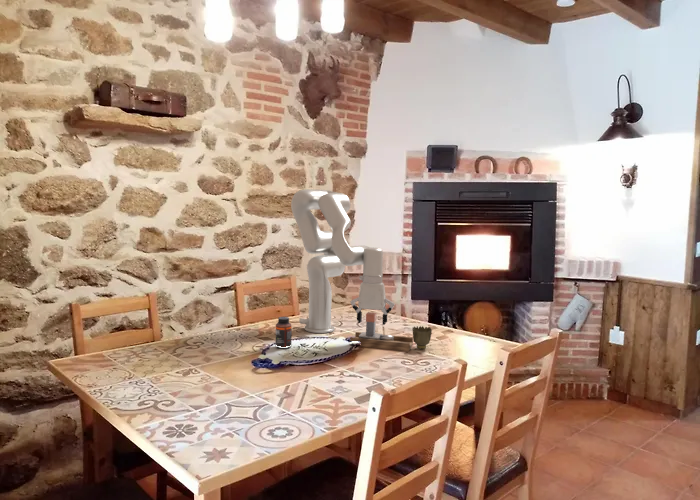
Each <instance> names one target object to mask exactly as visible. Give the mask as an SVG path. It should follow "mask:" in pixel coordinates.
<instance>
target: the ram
mask: <svg viewBox="0 0 700 500" xmlns="http://www.w3.org/2000/svg"><path fill="white" fill-rule="evenodd" d="M365 322H366V324H365V325H366V326H365V329H366V330H365V331H362V333H361V334H360V335H359V338H364V339H374V340H385V341H394V336H395V335H393V336H390V335H391V334H383V333H377V332H376V322H377V312H370V311H368V312H367V313H366V314H365ZM382 334H383V335H382Z"/></svg>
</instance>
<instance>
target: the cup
mask: <svg viewBox="0 0 700 500" xmlns="http://www.w3.org/2000/svg"><path fill="white" fill-rule="evenodd" d="M411 329H412V337H413V343H414V344H415V345H416V349H418V350H426V348H427V345H428V344H430V342H431V338H432V332H433V329H432V328H431V326H425V327H424V326H421V325H420V326H419V325H418V326H413V327H412V328H411Z"/></svg>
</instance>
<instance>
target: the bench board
mask: <svg viewBox="0 0 700 500" xmlns="http://www.w3.org/2000/svg"><path fill="white" fill-rule="evenodd" d="M362 332H363V331H362ZM362 332H359V331H355V334H354V335H355V336H353V337H352V336H350V338H349V342H350V341H360V342H361V345H360V346H359V347H365V348H373V349H375V348H376V349H384V350H385V349H386V350H394V351H405V352H409V351H410V350H411V348H412V346H413V345H414V340H413V336H412V337H411V336H400V335H393V334H389V335H390V336H394V341H385V340H374V339H364V338H359V335H360V334H361V333H362ZM381 334H382V335H384V334H383V333H381Z"/></svg>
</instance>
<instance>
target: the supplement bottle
mask: <svg viewBox="0 0 700 500" xmlns="http://www.w3.org/2000/svg"><path fill="white" fill-rule="evenodd" d="M277 321H278V322H277V323H276V324H275V346H276V345H277V346H281V347H286V346H290V345H291V346H292V335H293V334H292V329H293V328H292V323H290V317H288V316H279V317H278V320H277Z"/></svg>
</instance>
